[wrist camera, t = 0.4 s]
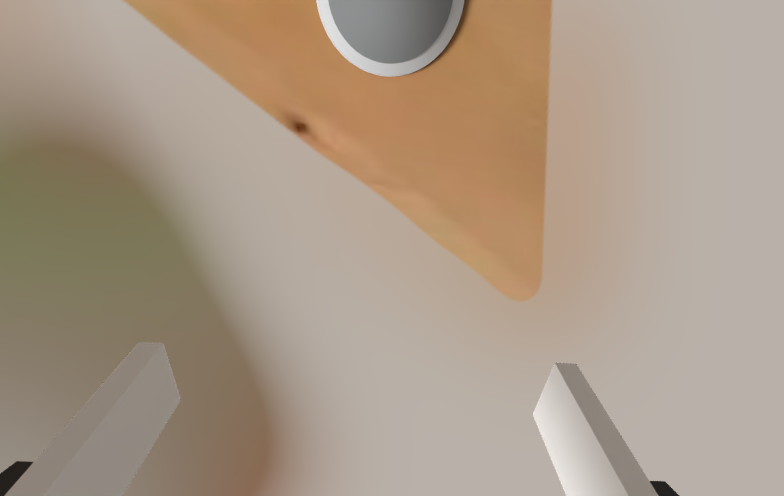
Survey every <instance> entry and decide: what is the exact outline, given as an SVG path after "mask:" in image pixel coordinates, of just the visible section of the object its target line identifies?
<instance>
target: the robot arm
mask: <svg viewBox="0 0 784 496" xmlns="http://www.w3.org/2000/svg"><path fill="white" fill-rule="evenodd" d="M180 400H181V399H180V395H179V392H178V389H177V386H176V382H175V380H174V376H173V373H172V370H171V366H170V363H169V360H168V357H167V354H166V350H165V347H164V344H163V343H151V342H139V343H138V344H137V345H136V346H135V347H134V348H133V349H132V350H131V352H130V353H129V354H128V355H127V356H126V358H124V360H123V361H122V362H121V363H120V364H119V365H118V366H117V368H116V369H115V370H114V371H113V372H112V373H111V374H110V376H109V377H108V378H107V379H106V380H105V381H104V382H103V384H102V385H101V386H100V387H99V388H98V389H97V390H96V392H95V393H94V394H93V395H92V396H91V397H90V398H89V400H88V401H87V402H86V403H85V404H84V405H83V406H82V408H81V409H80V410H79V411H78V412H77V413H76V414H75V416H74V417H73V418H72V419H71V420H70V421H69V422H68V424H67V425H66V426H65V427H64V428H63V429H62V430H61V432H60V433H59V434H58V435H57V436H56V437H55V438H54V440H53V441H52V442H51V443H50V444H49V445H48V446H47V448H46V449H45V450H44V451H43V452H42V453H41V455H40V456H39V457H38V458H37V459H36V460H35V461H34V462H19V461H17V462H15V463H14V464H13V465H12V466H10V467H9V468H7V469H6V470H5V471H3V472H2V473H1V474H0V496H123V494H124V493H125V491H126V489H127V488H128V486H129V485H130V483H131V481H132V480H133V478H134V476H135V475H136V473H137V471H138V470H139V468H140V466H141V465H142V463H143V461H144V460H145V458H146V456H147V455H148V453H149V451H150V450H151V448H152V446H153V445H154V443H155V441H156V440H157V438H158V437H159V435H160V433H161V431H162V430H163V428H164V427H165V425H166V423H167V422H168V420H169V418H170V417H171V415H172V413H173V412H174V410H175V408H176V407H177V405H178V403H179V402H180ZM533 416H534V419H535V421H536V424H537V426H538V428H539V431H540V433H541V436H542V438H543V441H544V443H545V445H546V448H547V450H548V452H549V455H550V457H551V459H552V462H553V465H554V467H555V470H556V472H557V475H558V477H559V479H560V482H561V484H562V487H563V489H564V491H565V494H566V496H679V495H678V494H677V493H676V492H675V491H674V490H673V489H672V488H671V487H670V486H669V485H668V484H667V483H666V482H663V481H649V480H648V478H647V477H646V475H645V473H644V472H643V470H642V469H641V467H640V465H639V464H638V462H637V461H636V459H635V457H634V456H633V454H632V452H631V451H630V449H629V448H628V446H627V444H626V443H625V441H624V440H623V438H622V436H621V435H620V433H619V432H618V430H617V429H616V427H615V425H614V424H613V422H612V421H611V419H610V417H609V416H608V414H607V412H606V411H605V409H604V408H603V406H602V404H601V403H600V401H599V400H598V398H597V396H596V395H595V393H594V392H593V390H592V388H591V387H590V385H589V384H588V382H587V380H586V379H585V377H584V376H583V374H582V372H581V371H580V369H579V367H578V366H577V364H567V363H555V364H554V366H553V369H552V371H551V373H550V375H549V378H548V380H547V383H546V385H545V387H544V389H543V392H542V395H541V396H540V399H539V401H538V403H537V406H536V408H535V410H534V413H533Z"/></svg>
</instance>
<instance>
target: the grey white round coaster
mask: <svg viewBox="0 0 784 496" xmlns="http://www.w3.org/2000/svg"><path fill="white" fill-rule="evenodd" d="M316 1H317V7H318V11H319V15H320V18H321V21H322V23H323V26H324V28H325V31H326V32H327V34H328V36H329V38H330V40H331V41H332V43H333V44H334V46H335V47H336V48H337V49H338V51H339V52H340V53H341V54H342V55H343V56H344V57H345V58H346V59H347V60H348V61H350V62H351V63H352V64H354V65H355V66H357V67H358V68H360V69H362V70H364V71H366V72H369V73H372V74H375V75H380V76H392V77H394V76H402V75H406V74H410V73H413V72H415V71H417V70H420V69H421V68H423V67H425V66H426V65H428V64H429V63H430V62H432V61H433V60H434V59H435V58H436V57H437V56H438V55H439V54H440V53H441V52H442V51H443V50H444V48H445V47H446V46H447V44H448V43H449V41H450V40H451V38H452V36H453V35H454V33H455V30H456V28H457V26H458V24H459V21H460V18H461V15H462V11H463V6H464V1H465V0H316Z"/></svg>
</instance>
